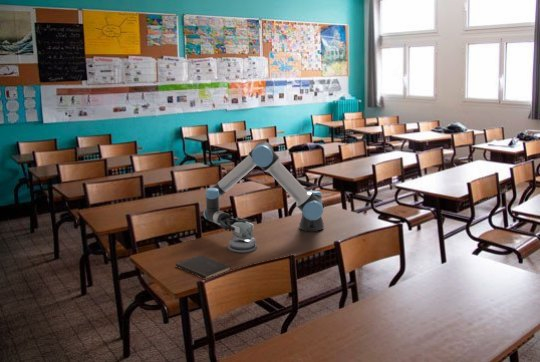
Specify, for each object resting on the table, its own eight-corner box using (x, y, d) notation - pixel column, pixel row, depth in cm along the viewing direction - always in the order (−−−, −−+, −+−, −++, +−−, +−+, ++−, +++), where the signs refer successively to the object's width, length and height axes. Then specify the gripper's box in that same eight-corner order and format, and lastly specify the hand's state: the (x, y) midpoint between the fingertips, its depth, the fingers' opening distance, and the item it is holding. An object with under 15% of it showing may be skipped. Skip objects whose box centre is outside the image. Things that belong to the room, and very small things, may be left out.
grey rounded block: (259, 233, 279) (249, 218, 276) (247, 244, 275) (237, 229, 272) (247, 232, 291) (237, 218, 288) (235, 242, 286) (225, 228, 284)
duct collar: (245, 240, 294) (245, 233, 293) (263, 248, 282) (263, 240, 281) (222, 247, 285) (222, 239, 284) (239, 255, 273) (239, 247, 272)
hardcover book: (200, 258, 270) (200, 254, 269) (230, 270, 255) (230, 266, 254) (175, 267, 259) (175, 263, 258) (205, 280, 243) (205, 276, 243)
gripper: (237, 221, 303) (262, 231, 286) (206, 229, 289) (229, 239, 272) (237, 209, 301) (261, 218, 284) (206, 216, 288) (229, 226, 271)
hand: (246, 228), depth 278 cm, fingers closed on grey rounded block, 9 cm apart
